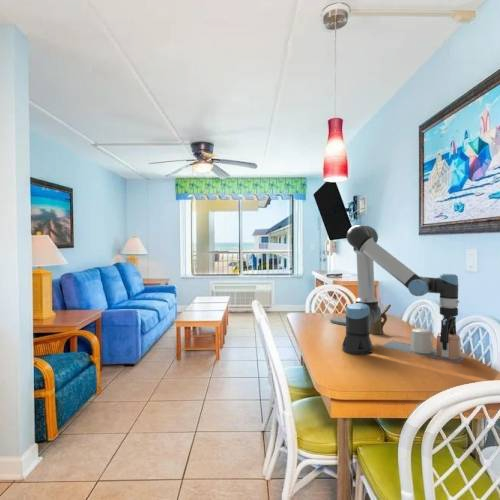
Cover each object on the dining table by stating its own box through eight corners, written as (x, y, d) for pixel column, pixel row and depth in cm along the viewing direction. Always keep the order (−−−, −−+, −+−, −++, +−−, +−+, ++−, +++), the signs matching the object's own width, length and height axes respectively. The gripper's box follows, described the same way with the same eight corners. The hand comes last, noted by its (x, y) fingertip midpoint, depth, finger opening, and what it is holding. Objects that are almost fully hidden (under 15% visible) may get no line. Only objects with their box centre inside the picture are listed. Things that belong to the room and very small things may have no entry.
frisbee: (329, 319, 252) (329, 315, 252) (368, 320, 247) (368, 317, 247) (331, 325, 232) (331, 321, 232) (372, 327, 227) (372, 323, 227)
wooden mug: (391, 335, 205) (392, 305, 205) (368, 334, 209) (368, 304, 208) (389, 332, 214) (390, 303, 213) (367, 330, 217) (367, 302, 217)
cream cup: (428, 354, 164) (428, 333, 164) (408, 350, 171) (408, 330, 171) (434, 350, 171) (434, 330, 171) (415, 346, 177) (415, 327, 177)
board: (457, 366, 152) (457, 363, 152) (379, 349, 178) (379, 346, 178) (467, 358, 163) (467, 355, 163) (392, 343, 189) (392, 340, 189)
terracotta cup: (456, 360, 156) (456, 338, 156) (434, 356, 162) (435, 335, 162) (461, 356, 162) (462, 335, 162) (441, 351, 169) (441, 331, 168)
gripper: (450, 310, 152) (450, 361, 152) (464, 304, 167) (463, 350, 167) (432, 308, 157) (432, 357, 157) (447, 303, 172) (446, 347, 172)
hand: (448, 354), depth 162 cm, fingers closed on terracotta cup, 9 cm apart
